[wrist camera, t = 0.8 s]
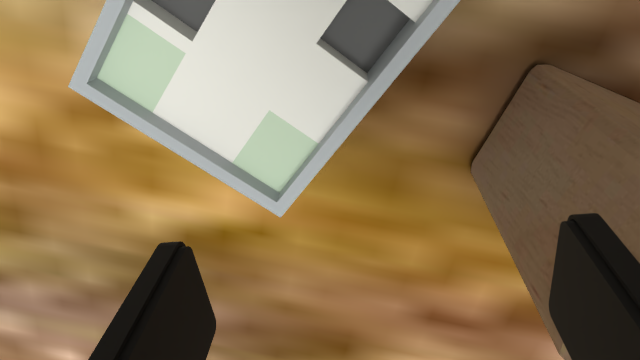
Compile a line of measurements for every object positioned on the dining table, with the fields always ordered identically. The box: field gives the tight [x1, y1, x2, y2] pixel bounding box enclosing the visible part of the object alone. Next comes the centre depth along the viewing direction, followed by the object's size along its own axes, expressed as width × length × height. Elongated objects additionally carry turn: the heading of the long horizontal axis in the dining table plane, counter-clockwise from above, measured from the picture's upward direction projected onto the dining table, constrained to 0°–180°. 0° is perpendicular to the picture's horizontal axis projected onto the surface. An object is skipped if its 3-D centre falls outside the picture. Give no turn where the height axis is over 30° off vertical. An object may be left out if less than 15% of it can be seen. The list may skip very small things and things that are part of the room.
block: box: [471, 65, 640, 360], centre depth 27 cm, size 10×10×20 cm
